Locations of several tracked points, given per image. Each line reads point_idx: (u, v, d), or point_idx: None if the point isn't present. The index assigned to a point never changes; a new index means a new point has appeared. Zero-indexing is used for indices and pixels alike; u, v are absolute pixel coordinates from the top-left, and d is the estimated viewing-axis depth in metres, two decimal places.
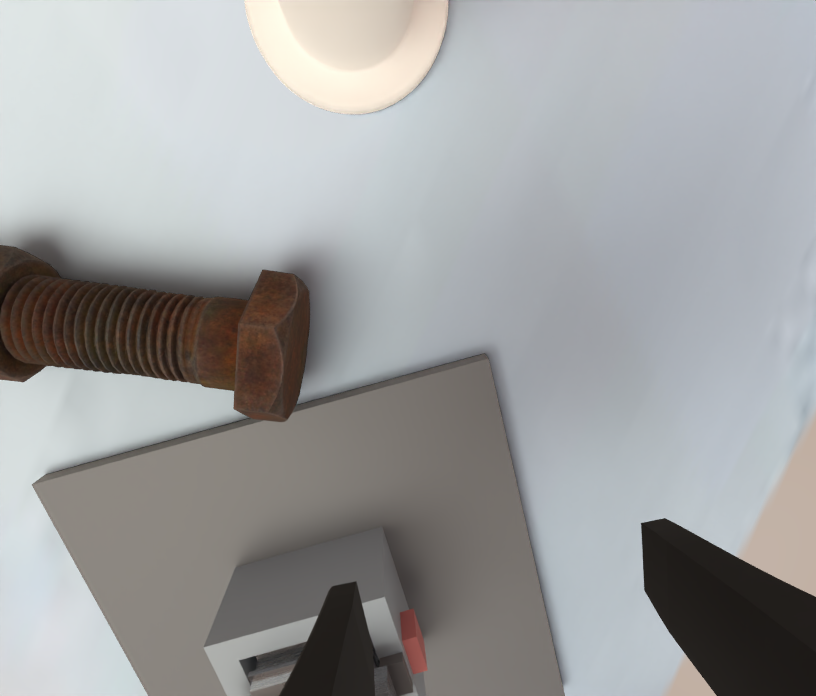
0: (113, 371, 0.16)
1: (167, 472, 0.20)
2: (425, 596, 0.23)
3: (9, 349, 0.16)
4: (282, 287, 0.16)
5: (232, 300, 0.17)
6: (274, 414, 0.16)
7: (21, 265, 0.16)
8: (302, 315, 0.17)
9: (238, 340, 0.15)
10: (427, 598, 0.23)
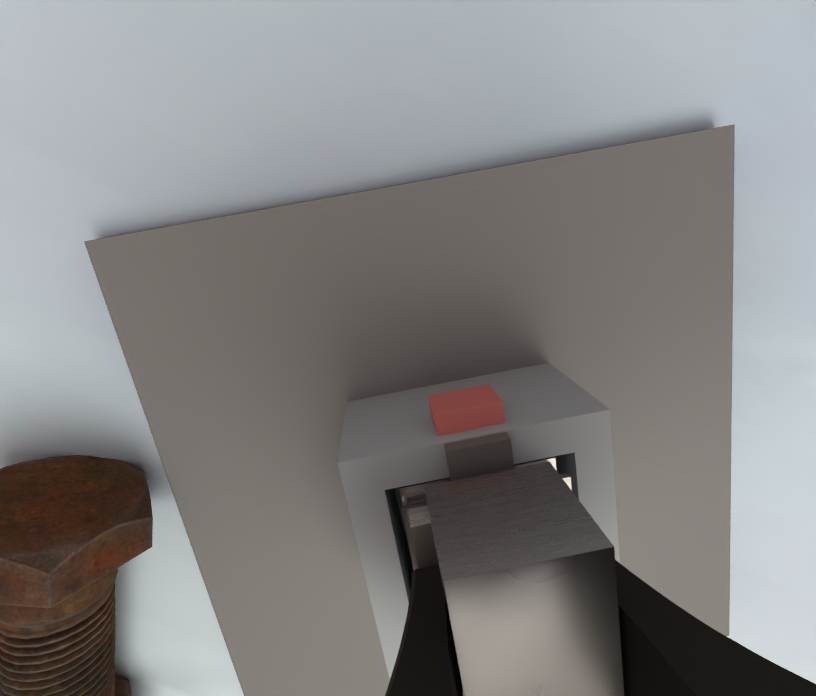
0: (85, 681, 0.15)
1: (250, 624, 0.18)
2: (471, 350, 0.15)
3: None
4: None
5: None
6: (64, 560, 0.12)
7: None
8: (10, 486, 0.14)
9: None
10: (474, 347, 0.15)
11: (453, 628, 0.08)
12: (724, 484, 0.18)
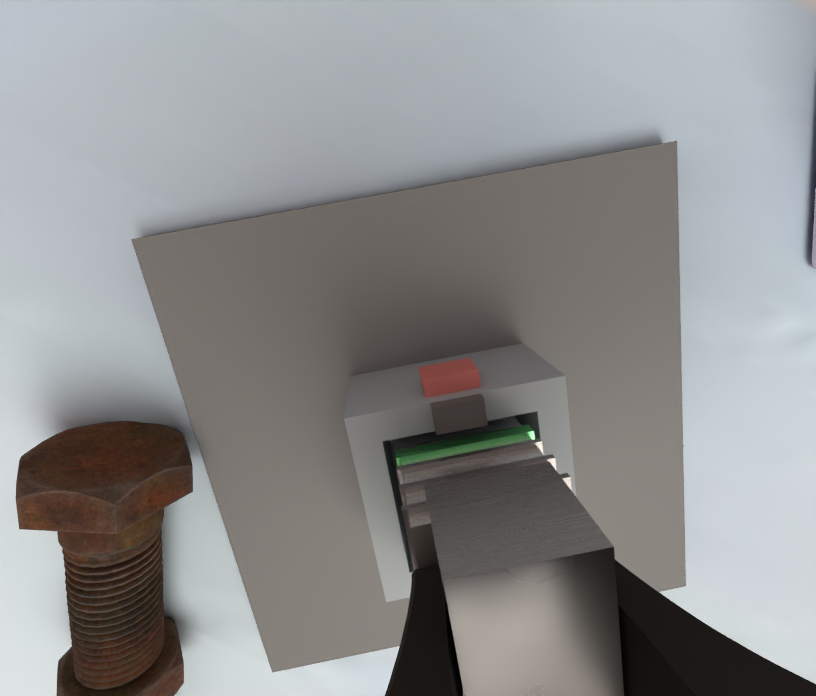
0: (142, 608, 0.18)
1: (266, 571, 0.20)
2: (456, 332, 0.18)
3: (124, 682, 0.18)
4: None
5: None
6: (126, 494, 0.15)
7: (67, 660, 0.19)
8: (73, 443, 0.17)
9: (39, 529, 0.15)
10: (459, 330, 0.18)
11: (453, 628, 0.08)
12: (677, 450, 0.20)
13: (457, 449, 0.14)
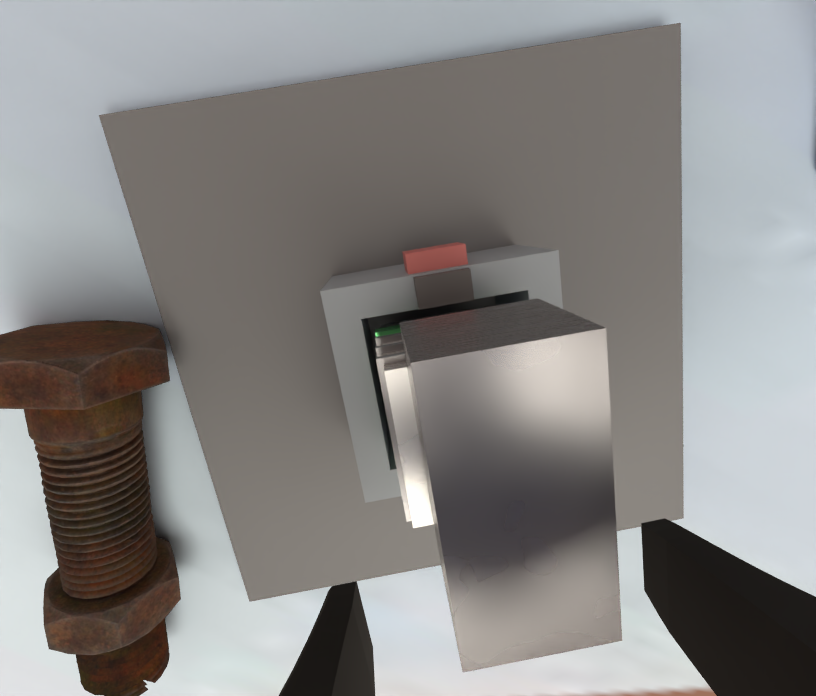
0: (126, 511, 0.17)
1: (243, 490, 0.19)
2: (445, 230, 0.17)
3: (114, 591, 0.17)
4: None
5: None
6: (90, 366, 0.14)
7: (55, 576, 0.18)
8: (39, 333, 0.16)
9: (0, 407, 0.14)
10: (448, 228, 0.17)
11: (422, 422, 0.07)
12: (676, 368, 0.19)
13: None
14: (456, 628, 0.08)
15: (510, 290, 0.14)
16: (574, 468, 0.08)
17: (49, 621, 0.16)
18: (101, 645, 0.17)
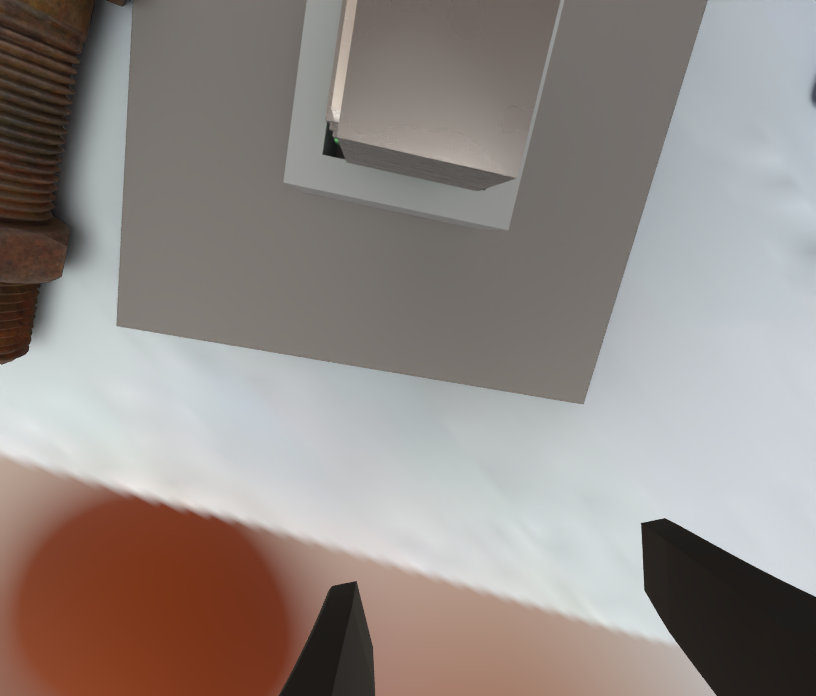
0: (32, 123, 0.15)
1: (154, 191, 0.17)
2: None
3: None
4: None
5: None
6: None
7: None
8: None
9: None
10: None
11: None
12: (628, 239, 0.19)
13: None
14: (348, 67, 0.07)
15: None
16: None
17: None
18: None
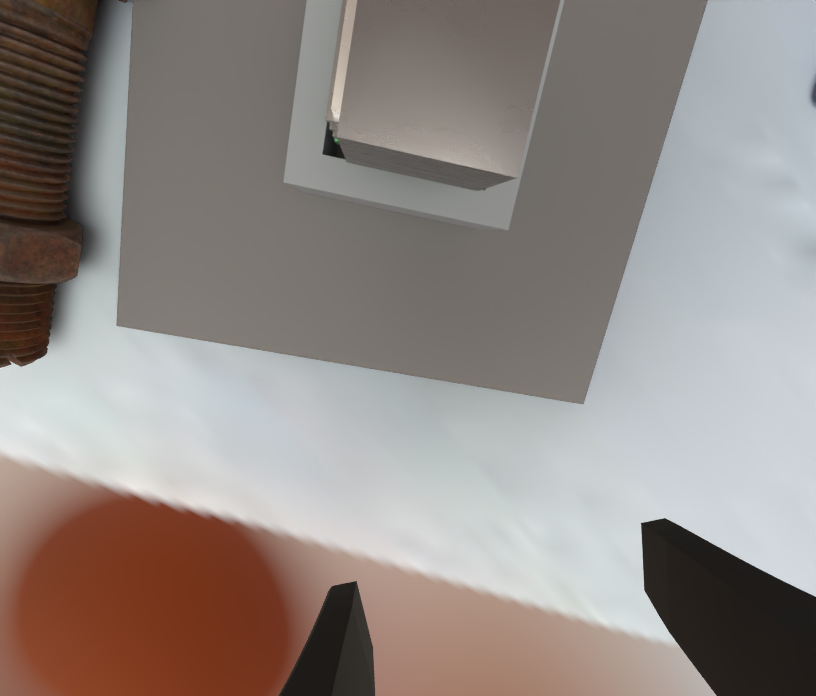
0: (42, 122, 0.15)
1: (155, 191, 0.17)
2: None
3: (2, 212, 0.15)
4: None
5: None
6: None
7: None
8: None
9: None
10: None
11: None
12: (628, 239, 0.19)
13: None
14: (348, 67, 0.07)
15: None
16: None
17: None
18: None
